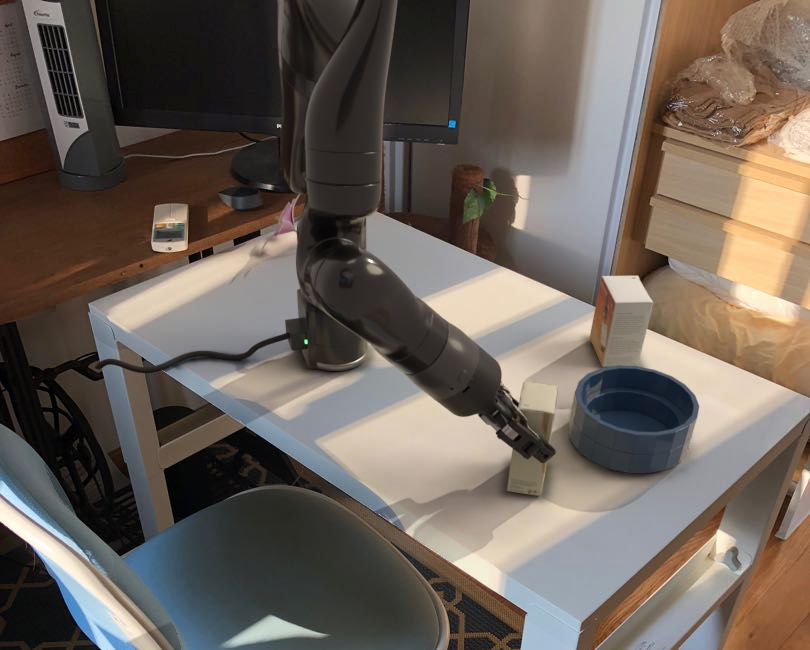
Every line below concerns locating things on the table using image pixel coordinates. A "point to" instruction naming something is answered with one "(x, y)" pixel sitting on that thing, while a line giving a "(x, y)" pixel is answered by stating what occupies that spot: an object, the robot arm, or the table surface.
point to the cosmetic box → (540, 413)
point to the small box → (620, 320)
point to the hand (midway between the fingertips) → (535, 437)
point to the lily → (285, 221)
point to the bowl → (632, 418)
